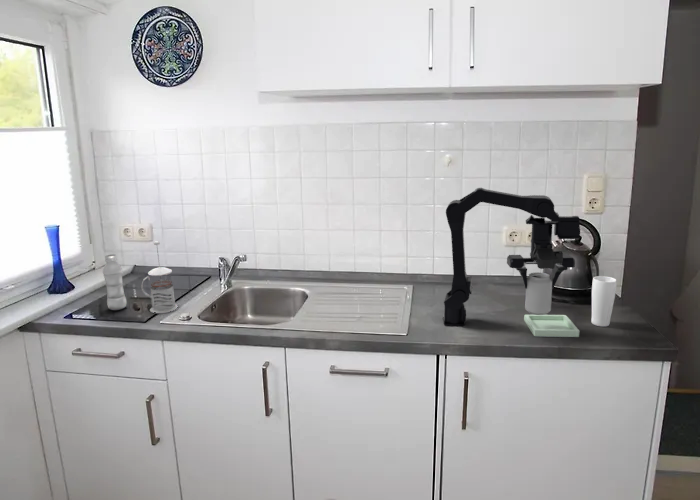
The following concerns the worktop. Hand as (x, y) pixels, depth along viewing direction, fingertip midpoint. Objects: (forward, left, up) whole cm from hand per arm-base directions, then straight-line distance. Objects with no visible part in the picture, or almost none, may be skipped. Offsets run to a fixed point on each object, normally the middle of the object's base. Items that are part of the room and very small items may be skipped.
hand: (538, 288), depth 159 cm
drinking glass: (+21, +5, -14) cm, 26 cm away
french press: (-128, +15, -14) cm, 129 cm away
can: (0, 0, -8) cm, 8 cm away
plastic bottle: (-144, +14, -14) cm, 145 cm away
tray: (+5, +1, -13) cm, 14 cm away
